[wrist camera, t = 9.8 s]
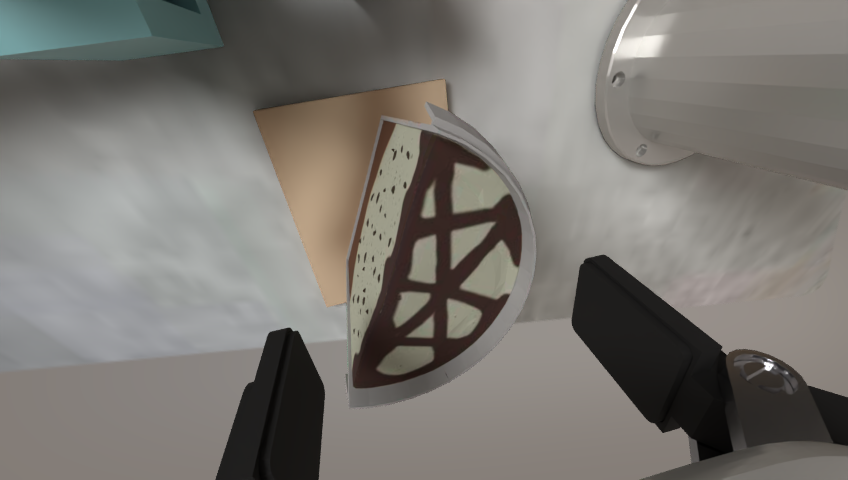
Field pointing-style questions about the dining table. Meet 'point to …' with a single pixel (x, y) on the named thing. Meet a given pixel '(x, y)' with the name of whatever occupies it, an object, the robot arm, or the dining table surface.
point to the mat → (334, 165)
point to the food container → (432, 259)
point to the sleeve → (104, 29)
